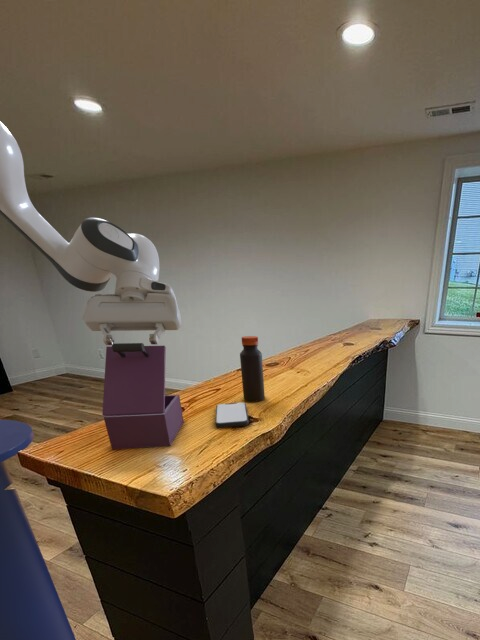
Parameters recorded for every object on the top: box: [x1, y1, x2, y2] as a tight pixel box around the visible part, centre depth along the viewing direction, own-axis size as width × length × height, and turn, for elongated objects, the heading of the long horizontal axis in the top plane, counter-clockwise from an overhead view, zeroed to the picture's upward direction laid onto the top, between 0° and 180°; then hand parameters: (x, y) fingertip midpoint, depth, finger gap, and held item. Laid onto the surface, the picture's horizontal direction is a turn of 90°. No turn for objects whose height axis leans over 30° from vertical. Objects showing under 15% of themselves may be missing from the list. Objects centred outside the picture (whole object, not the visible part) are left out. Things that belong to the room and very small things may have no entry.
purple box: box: [103, 394, 185, 450], centre depth 85 cm, size 16×13×8 cm
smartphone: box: [214, 402, 250, 429], centre depth 99 cm, size 9×2×16 cm
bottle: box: [239, 335, 266, 403], centre depth 110 cm, size 7×7×20 cm
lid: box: [101, 342, 167, 417], centre depth 76 cm, size 16×13×6 cm
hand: (131, 343), depth 77 cm, fingers open, 8 cm apart
